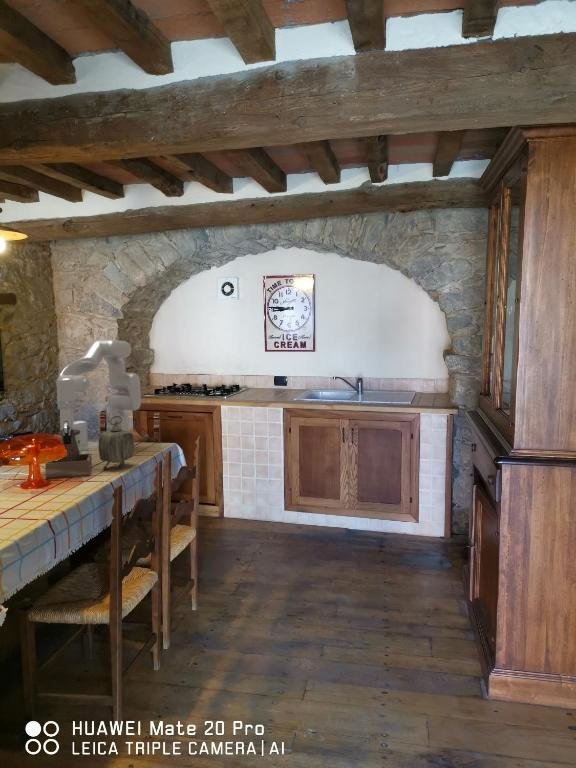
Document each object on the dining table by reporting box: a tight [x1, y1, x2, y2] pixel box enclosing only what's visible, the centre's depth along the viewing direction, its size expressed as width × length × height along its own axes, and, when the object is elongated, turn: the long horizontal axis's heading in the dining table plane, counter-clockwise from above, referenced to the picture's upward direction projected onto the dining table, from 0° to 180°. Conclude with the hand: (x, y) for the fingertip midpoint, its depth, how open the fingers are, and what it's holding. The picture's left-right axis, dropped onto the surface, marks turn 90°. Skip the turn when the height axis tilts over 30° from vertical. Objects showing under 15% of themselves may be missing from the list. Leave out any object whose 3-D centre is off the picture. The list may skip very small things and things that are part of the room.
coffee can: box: [57, 429, 82, 454], centre depth 266 cm, size 10×10×14 cm
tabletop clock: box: [98, 416, 135, 470], centre depth 247 cm, size 14×9×25 cm, turn 149°
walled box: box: [44, 453, 93, 480], centre depth 239 cm, size 14×18×7 cm
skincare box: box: [73, 420, 89, 452], centre depth 283 cm, size 8×7×16 cm
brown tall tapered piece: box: [59, 430, 80, 462], centre depth 239 cm, size 9×8×25 cm
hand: (68, 441), depth 238 cm, fingers open, 9 cm apart
